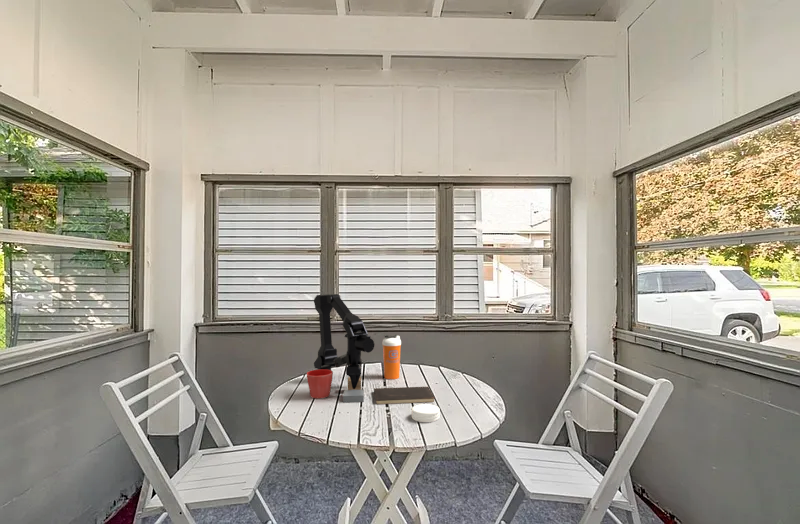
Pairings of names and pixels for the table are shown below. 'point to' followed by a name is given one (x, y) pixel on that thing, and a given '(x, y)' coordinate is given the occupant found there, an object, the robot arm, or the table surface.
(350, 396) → the grey box
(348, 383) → the tan block
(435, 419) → the coaster
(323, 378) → the flower pot
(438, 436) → the table surface
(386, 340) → the shaker bottle
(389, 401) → the hardcover book
